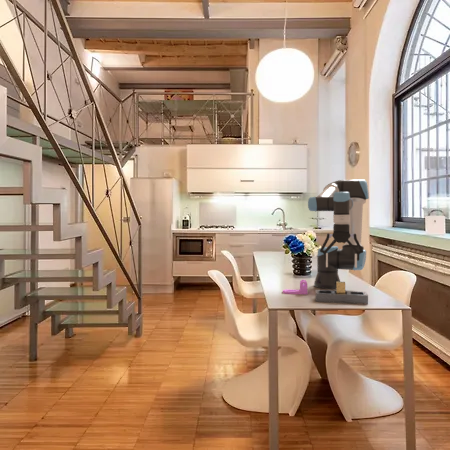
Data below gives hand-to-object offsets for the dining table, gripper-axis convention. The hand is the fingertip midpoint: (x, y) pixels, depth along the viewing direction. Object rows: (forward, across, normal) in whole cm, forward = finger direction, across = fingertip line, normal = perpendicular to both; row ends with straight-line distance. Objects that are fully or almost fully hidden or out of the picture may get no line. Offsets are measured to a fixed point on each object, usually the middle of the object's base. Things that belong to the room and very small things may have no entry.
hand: (341, 267), depth 193 cm
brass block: (+16, 0, 0) cm, 17 cm away
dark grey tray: (+16, 0, 0) cm, 17 cm away
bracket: (+17, -23, +14) cm, 32 cm away
